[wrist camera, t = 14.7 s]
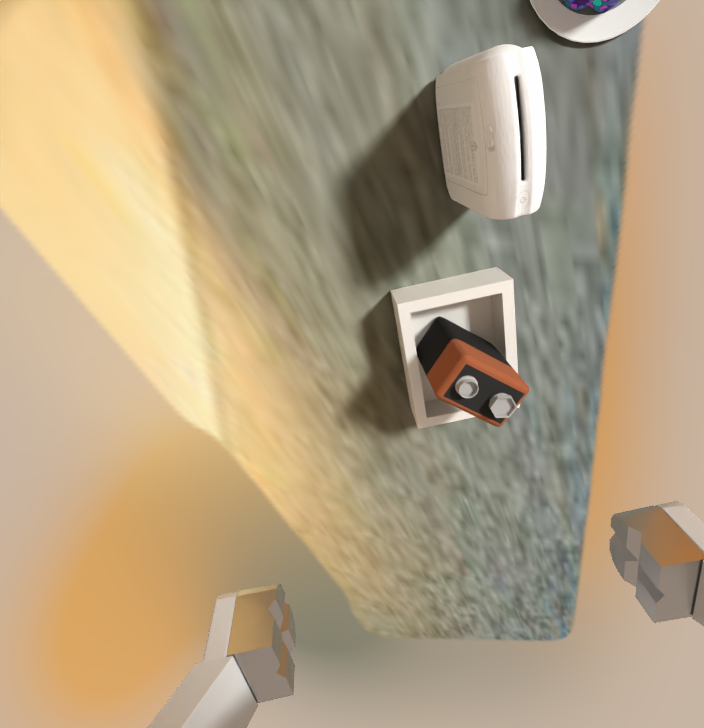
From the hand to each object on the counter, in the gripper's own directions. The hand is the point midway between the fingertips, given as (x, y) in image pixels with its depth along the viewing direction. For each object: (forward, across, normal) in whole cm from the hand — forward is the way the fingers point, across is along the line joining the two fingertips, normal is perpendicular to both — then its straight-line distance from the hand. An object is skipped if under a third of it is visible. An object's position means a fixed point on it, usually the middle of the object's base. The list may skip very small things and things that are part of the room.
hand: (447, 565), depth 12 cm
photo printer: (+34, -11, -7) cm, 37 cm away
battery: (+33, -8, +11) cm, 36 cm away
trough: (+34, -8, +11) cm, 37 cm away
